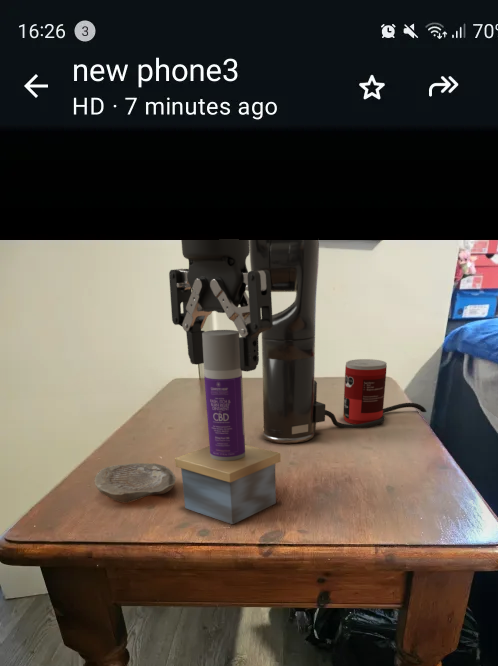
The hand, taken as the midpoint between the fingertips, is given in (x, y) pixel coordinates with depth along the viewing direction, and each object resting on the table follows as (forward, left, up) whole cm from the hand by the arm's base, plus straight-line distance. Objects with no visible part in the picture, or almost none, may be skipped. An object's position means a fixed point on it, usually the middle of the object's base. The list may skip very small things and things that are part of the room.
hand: (222, 366), depth 71 cm
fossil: (+5, -14, -18) cm, 24 cm away
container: (0, 0, -11) cm, 11 cm away
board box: (0, 0, -18) cm, 18 cm away
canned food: (-49, -9, -18) cm, 53 cm away
